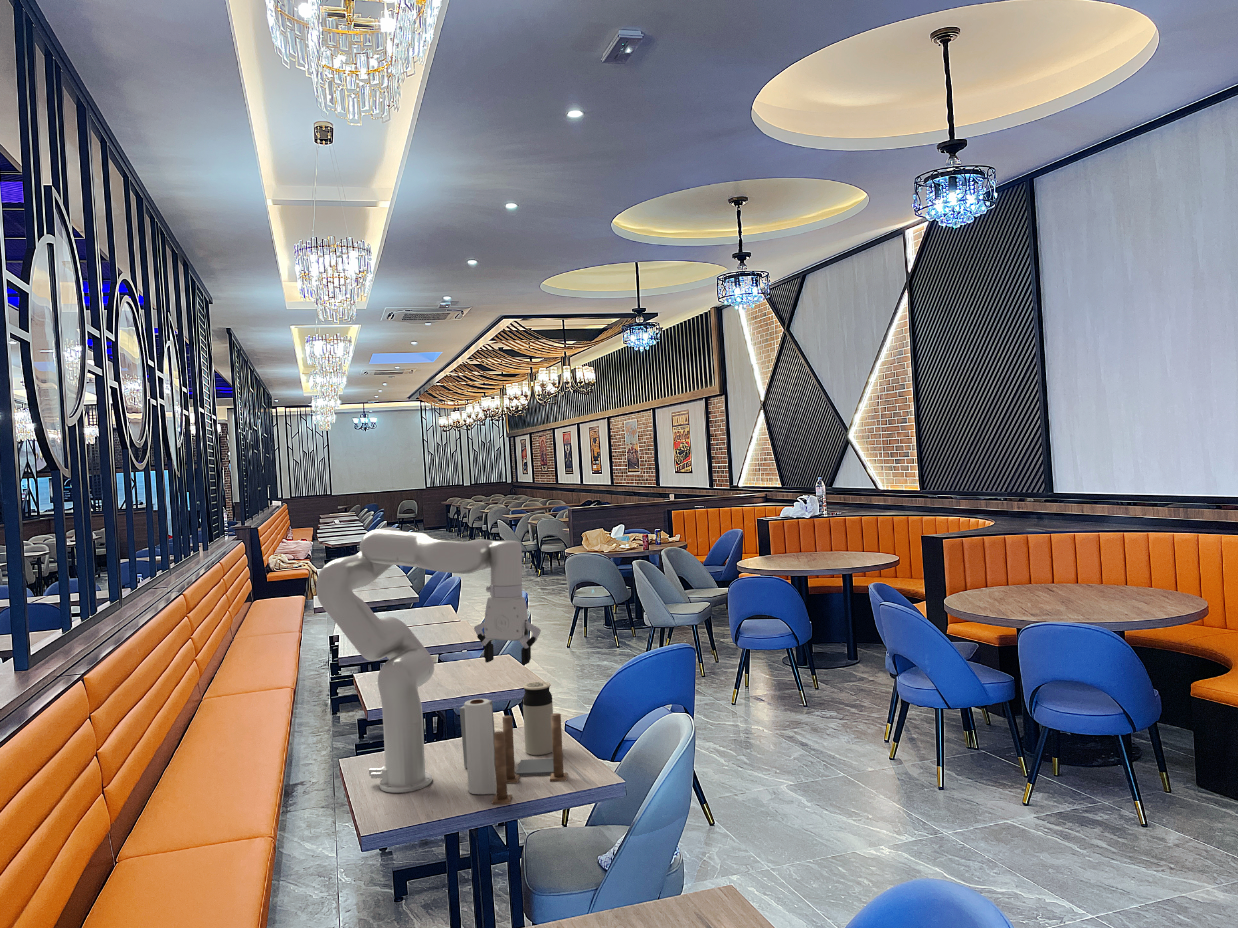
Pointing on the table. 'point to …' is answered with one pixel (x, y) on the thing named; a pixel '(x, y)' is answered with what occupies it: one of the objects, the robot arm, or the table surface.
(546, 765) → the mat
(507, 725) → the post
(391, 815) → the table surface
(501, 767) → the post
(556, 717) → the post
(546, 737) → the travel mug
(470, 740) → the paper towel roll
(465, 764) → the skincare box
